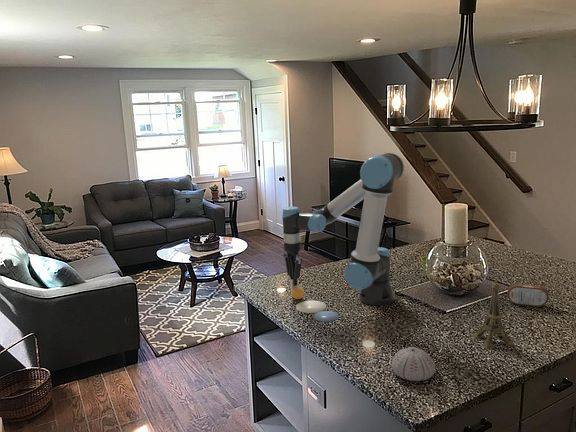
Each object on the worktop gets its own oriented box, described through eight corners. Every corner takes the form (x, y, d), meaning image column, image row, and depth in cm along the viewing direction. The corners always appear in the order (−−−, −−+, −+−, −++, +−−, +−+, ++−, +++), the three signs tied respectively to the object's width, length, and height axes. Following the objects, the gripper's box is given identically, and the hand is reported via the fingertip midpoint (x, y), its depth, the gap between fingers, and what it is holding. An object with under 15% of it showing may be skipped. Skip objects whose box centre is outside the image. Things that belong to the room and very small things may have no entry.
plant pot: (441, 279, 227) (441, 262, 225) (421, 279, 229) (421, 261, 227) (439, 272, 236) (439, 256, 234) (419, 272, 238) (419, 256, 236)
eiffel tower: (471, 335, 170) (473, 268, 165) (500, 332, 171) (503, 266, 166) (486, 349, 160) (488, 278, 155) (516, 346, 161) (519, 276, 156)
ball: (302, 292, 216) (307, 290, 211) (297, 302, 213) (302, 300, 208) (292, 285, 215) (297, 283, 210) (287, 295, 212) (292, 293, 208)
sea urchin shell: (386, 364, 154) (386, 341, 152) (427, 361, 155) (427, 338, 153) (397, 387, 141) (397, 362, 139) (442, 383, 142) (443, 358, 140)
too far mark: (341, 312, 195) (341, 312, 195) (334, 322, 186) (334, 322, 186) (317, 310, 199) (317, 309, 199) (310, 320, 189) (310, 319, 189)
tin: (547, 305, 192) (549, 285, 190) (548, 308, 189) (549, 288, 187) (506, 301, 198) (507, 282, 196) (506, 304, 195) (507, 284, 193)
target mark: (329, 302, 206) (329, 301, 206) (321, 314, 194) (321, 313, 194) (301, 299, 211) (301, 299, 211) (291, 311, 199) (291, 310, 199)
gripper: (277, 239, 214) (280, 289, 219) (291, 246, 202) (293, 298, 207) (292, 237, 217) (294, 285, 222) (306, 243, 206) (308, 294, 211)
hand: (294, 291), depth 215 cm, fingers closed
